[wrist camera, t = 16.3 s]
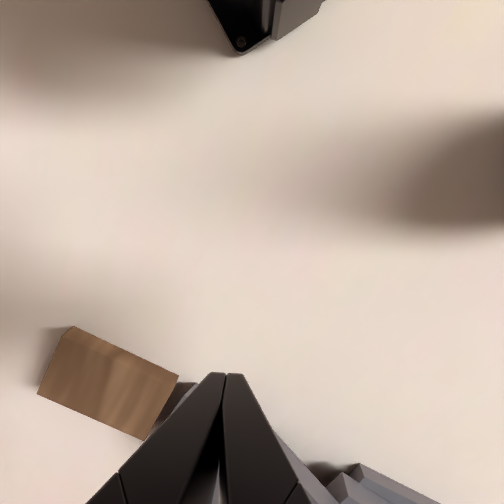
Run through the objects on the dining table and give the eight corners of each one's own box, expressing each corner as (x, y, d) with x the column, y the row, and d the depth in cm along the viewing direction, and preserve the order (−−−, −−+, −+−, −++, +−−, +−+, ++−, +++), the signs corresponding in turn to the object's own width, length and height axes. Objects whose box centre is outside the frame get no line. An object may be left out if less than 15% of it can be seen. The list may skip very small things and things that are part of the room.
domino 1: (36, 393, 21) (143, 441, 22) (61, 335, 20) (174, 388, 21) (53, 377, 23) (152, 421, 24) (77, 322, 22) (180, 371, 23)
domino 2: (215, 479, 22) (298, 582, 20) (259, 436, 21) (351, 540, 19) (226, 463, 24) (303, 557, 22) (266, 423, 23) (351, 517, 21)
